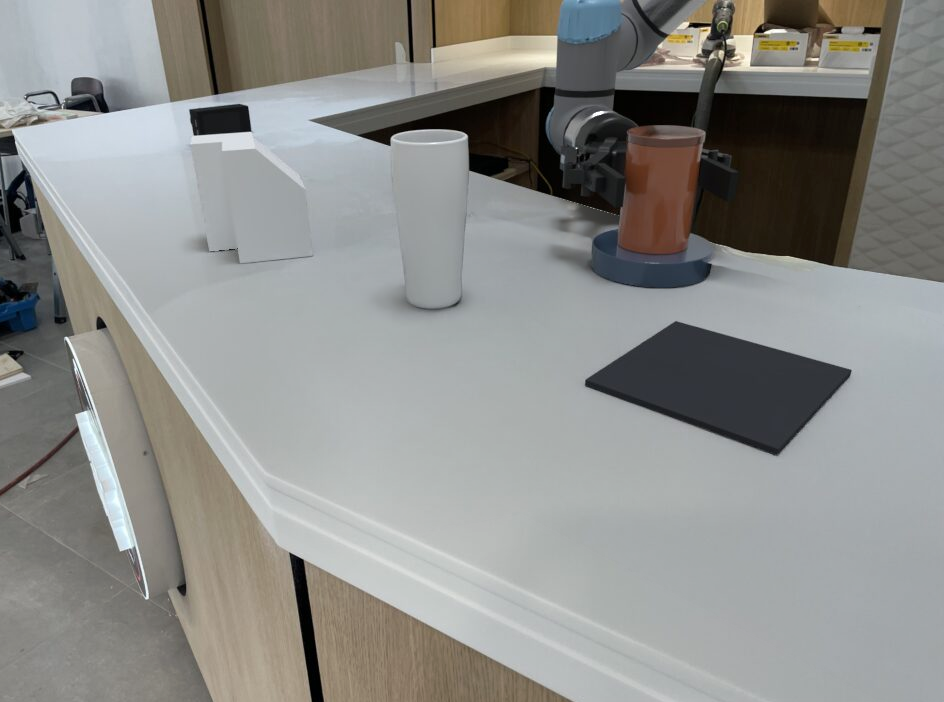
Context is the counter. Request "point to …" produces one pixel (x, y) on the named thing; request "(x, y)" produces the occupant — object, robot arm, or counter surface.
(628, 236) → the canister
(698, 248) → the dish
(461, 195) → the drinking glass
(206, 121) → the digital camera
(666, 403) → the mat
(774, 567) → the counter surface
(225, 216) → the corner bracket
